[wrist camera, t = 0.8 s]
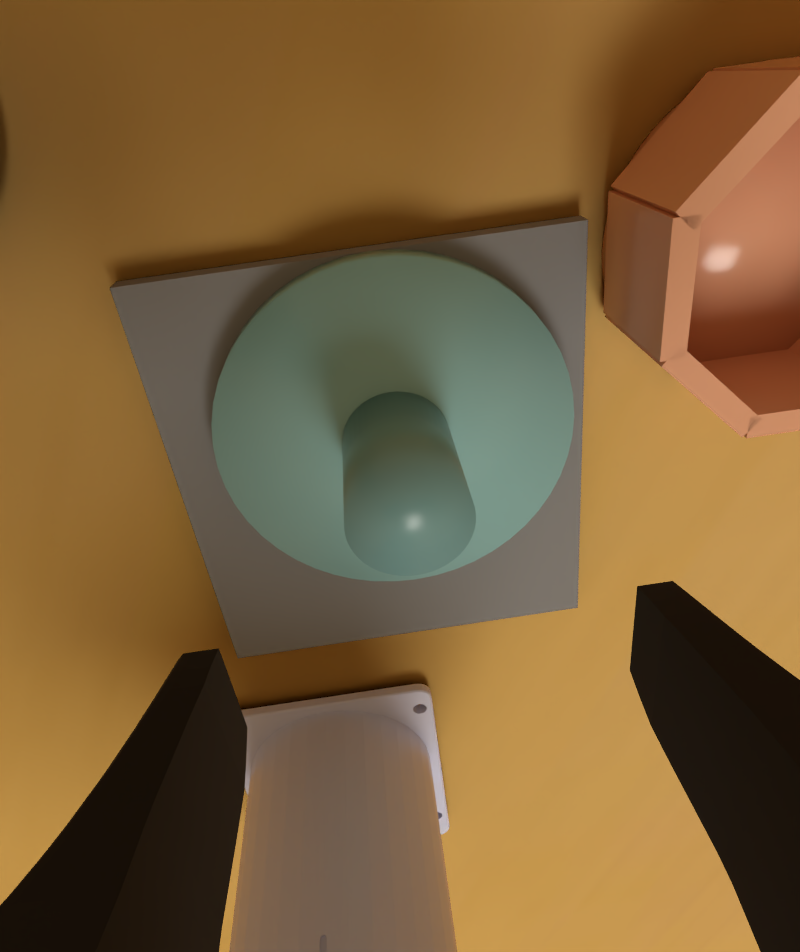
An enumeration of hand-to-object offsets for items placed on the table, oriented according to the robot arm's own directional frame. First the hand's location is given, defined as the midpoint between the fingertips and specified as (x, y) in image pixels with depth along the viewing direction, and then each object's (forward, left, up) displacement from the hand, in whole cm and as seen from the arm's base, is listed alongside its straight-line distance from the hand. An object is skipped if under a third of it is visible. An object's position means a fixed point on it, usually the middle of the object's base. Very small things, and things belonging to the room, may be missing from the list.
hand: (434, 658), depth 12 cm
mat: (-2, +1, -10) cm, 10 cm away
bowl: (+4, -10, -10) cm, 14 cm away
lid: (0, 0, -9) cm, 9 cm away
